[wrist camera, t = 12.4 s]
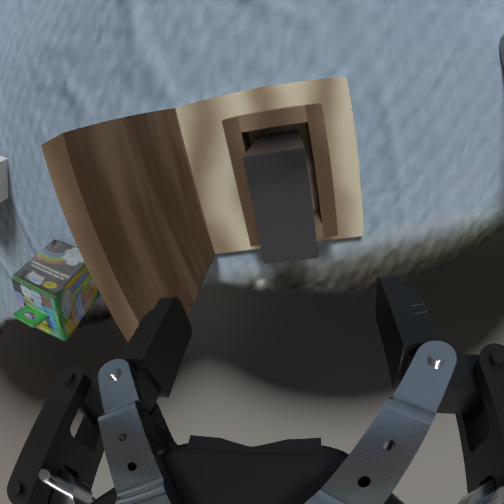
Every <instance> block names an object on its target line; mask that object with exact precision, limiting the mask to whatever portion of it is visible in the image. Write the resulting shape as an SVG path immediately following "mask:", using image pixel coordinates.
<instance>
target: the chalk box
mask: <svg viewBox="0 0 504 504" xmlns="http://www.w3.org/2000/svg"><path fill="white" fill-rule="evenodd" d="M11 278H12V282H13V285H14V289H15V293H16V296H17V300H18V303H19V306H20V309H19V310H18V311H17V312H15V313H14V314H13V316H14V317H15V318H16V319H18V320H20V321H22V322H23V323H25V324H27V325H29V326H30V327H36V328H37V329H40V330H42V331H43V332H45V333H47V334H50V335H52V336H54V337H56V338H58V339H61V340H63V341H66V340H67V339H68V338H69V336H70V335H71V334H72V332H73V331H74V329H75V328H76V326H77V325H78V324H79V322H80V321H81V319H82V318H83V317H84V315H85V314H86V312H87V311H88V310H89V308H90V307H91V306H92V304H93V303H94V302H95V300H96V299H97V298H98V288H97V286H96V285H95V283H94V281H93V279H92V277H91V274H90V272H89V270H88V268H87V266H86V264H85V262H84V260H83V258H82V255H81V253H80V251H79V249H78V248H76V247H74V246H71V245H68V244H65V243H63V242H60V241H57V240H53V241H52V242H51V243H50V244H49V245H48V246H46V247H45V248H44V249H43V250H42V251H40V252H39V253H38V254H37V255H36V256H35V257H33V258H32V259H31V260H30V261H29V262H28V263H27V264H25V265H24V266H23V267H22V268H21V269H20V270H19V271H18V272H16V273H15V274H14V275H13V276H12V277H11Z"/></svg>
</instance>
